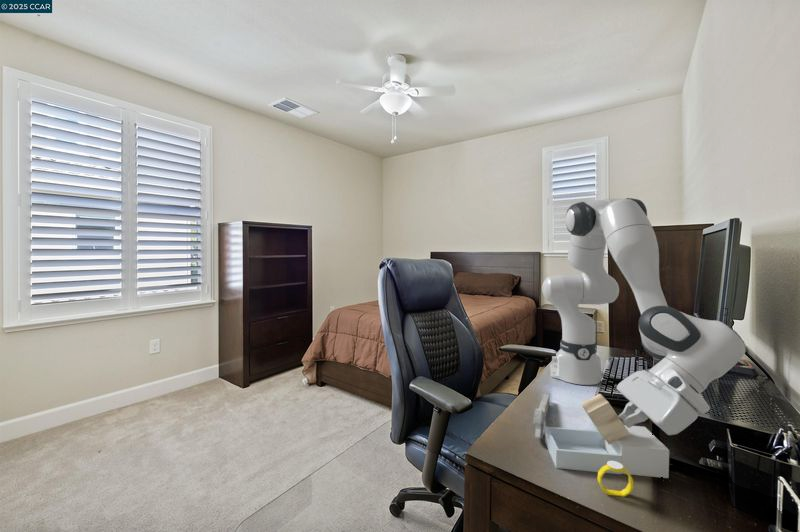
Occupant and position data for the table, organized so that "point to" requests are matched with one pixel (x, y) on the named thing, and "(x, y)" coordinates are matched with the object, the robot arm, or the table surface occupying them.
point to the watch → (616, 468)
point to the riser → (641, 453)
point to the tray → (578, 449)
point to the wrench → (541, 416)
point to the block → (605, 418)
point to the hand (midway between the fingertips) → (622, 422)
